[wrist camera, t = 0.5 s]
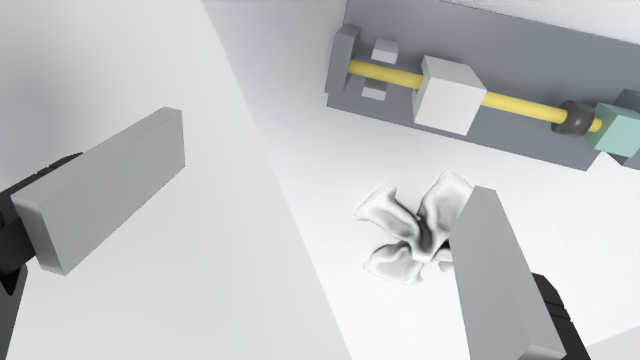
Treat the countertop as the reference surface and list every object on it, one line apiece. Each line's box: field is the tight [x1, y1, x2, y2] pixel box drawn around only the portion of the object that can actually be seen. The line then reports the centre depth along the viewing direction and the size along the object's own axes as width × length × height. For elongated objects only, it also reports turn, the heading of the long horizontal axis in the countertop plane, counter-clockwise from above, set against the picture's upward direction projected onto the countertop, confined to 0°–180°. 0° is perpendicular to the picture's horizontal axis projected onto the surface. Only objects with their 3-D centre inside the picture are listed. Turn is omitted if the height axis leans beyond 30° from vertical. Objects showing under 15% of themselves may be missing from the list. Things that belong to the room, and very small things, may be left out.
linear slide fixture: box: [324, 0, 640, 171], centre depth 30 cm, size 28×12×8 cm, turn 79°
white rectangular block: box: [411, 55, 487, 136], centre depth 28 cm, size 4×4×7 cm
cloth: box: [355, 171, 474, 285], centre depth 42 cm, size 22×19×6 cm
